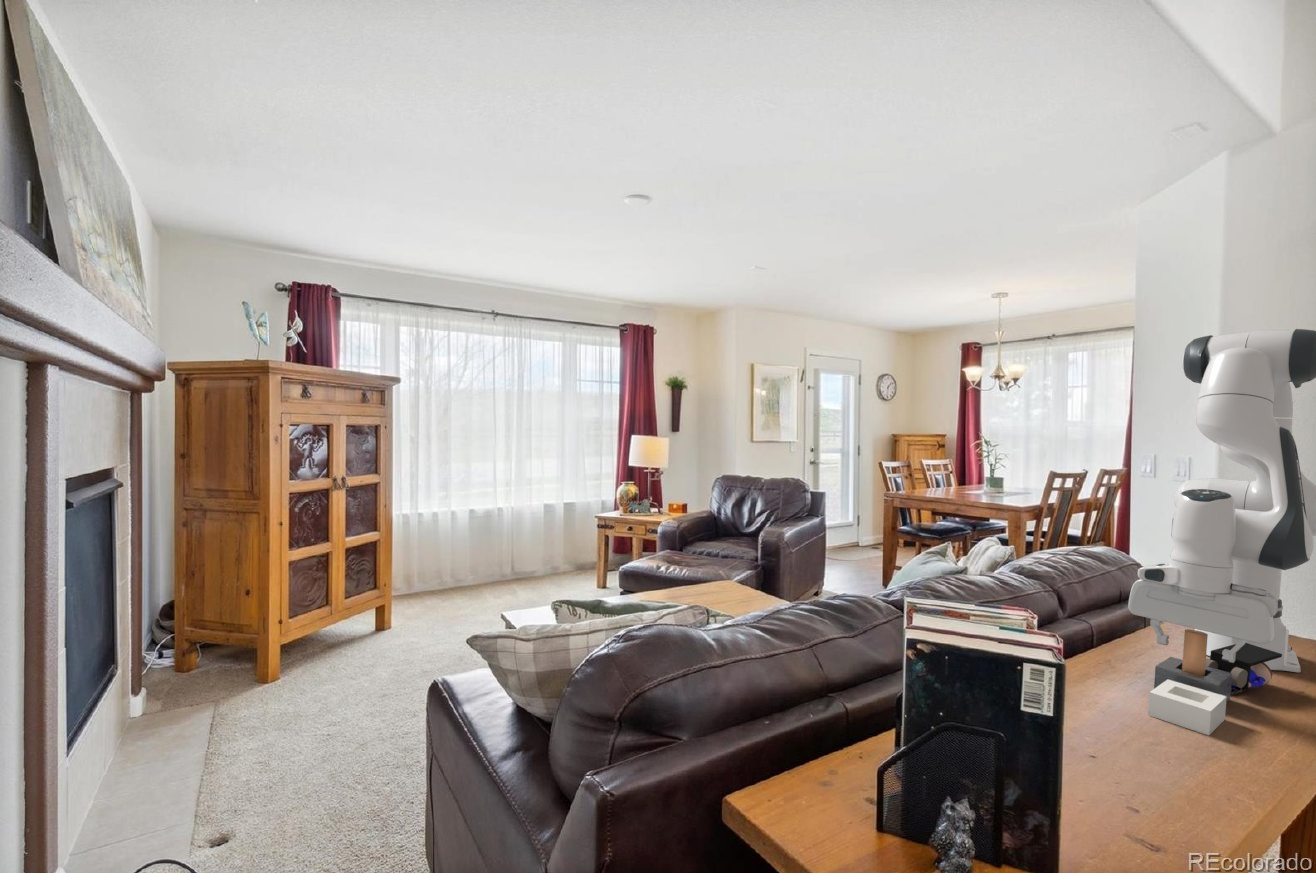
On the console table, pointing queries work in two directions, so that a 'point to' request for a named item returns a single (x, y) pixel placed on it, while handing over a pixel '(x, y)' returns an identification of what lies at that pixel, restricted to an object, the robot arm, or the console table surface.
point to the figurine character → (1245, 666)
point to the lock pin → (1194, 651)
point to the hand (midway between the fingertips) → (1194, 652)
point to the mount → (1194, 677)
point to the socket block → (1187, 706)
